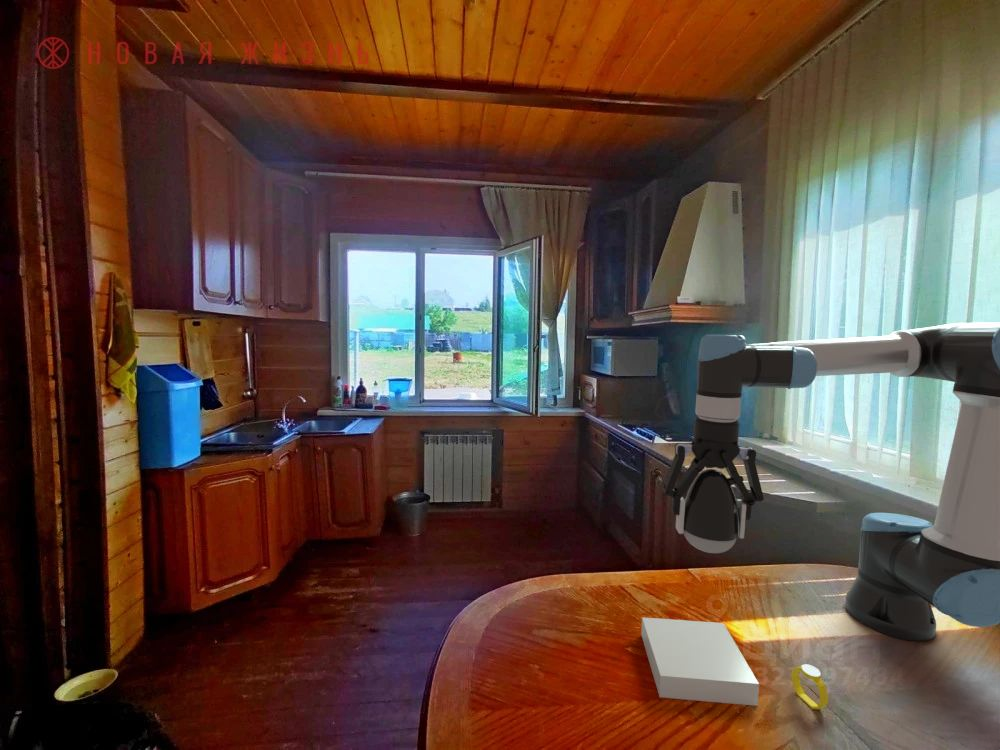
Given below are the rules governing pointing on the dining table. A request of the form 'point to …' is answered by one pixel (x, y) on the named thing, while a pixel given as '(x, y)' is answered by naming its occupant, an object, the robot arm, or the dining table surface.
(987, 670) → the dining table surface
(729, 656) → the ceramic base
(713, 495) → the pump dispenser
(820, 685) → the watch
